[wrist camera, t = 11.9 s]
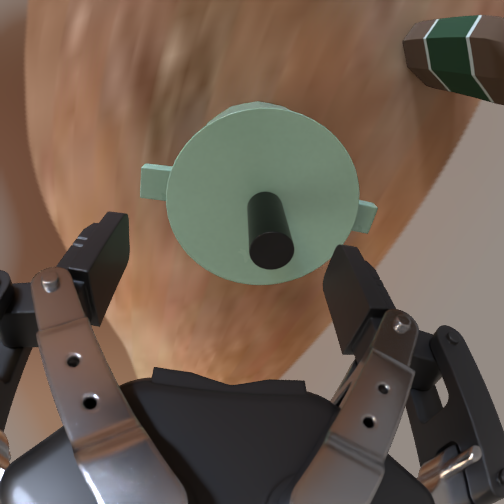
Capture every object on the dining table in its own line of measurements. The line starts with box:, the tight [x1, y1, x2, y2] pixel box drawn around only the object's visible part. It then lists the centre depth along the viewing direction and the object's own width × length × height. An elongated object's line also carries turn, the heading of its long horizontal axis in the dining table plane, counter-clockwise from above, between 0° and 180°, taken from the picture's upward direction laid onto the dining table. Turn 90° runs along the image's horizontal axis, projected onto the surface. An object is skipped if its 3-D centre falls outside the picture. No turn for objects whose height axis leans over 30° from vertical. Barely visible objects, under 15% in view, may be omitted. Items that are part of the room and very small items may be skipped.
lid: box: [166, 107, 359, 285], centre depth 19 cm, size 14×14×7 cm
